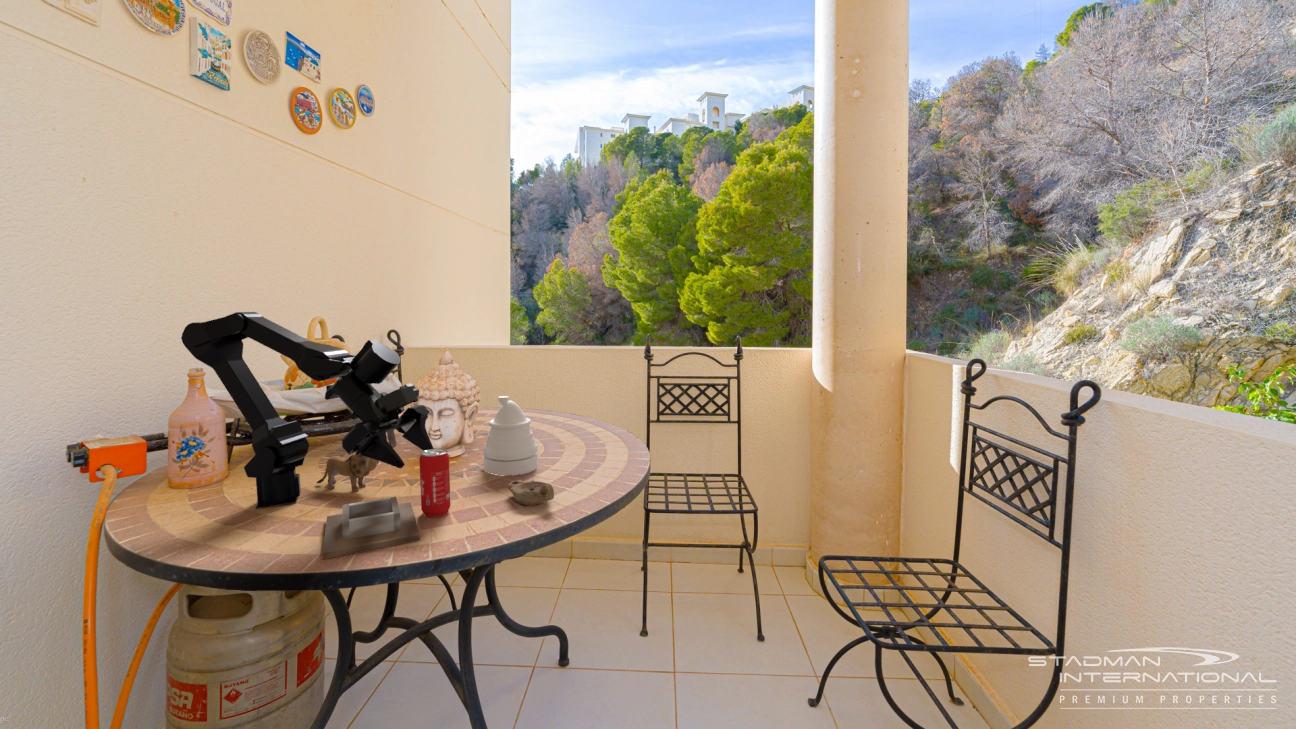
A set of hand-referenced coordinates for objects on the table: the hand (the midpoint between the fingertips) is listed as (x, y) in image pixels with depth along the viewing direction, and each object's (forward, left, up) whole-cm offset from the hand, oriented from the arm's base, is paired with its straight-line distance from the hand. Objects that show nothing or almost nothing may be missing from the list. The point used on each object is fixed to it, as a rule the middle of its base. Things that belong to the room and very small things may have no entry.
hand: (418, 459), depth 98 cm
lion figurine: (-12, +21, -11) cm, 27 cm away
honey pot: (+23, +19, -11) cm, 31 cm away
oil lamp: (+21, -5, -11) cm, 24 cm away
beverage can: (+3, -2, -11) cm, 11 cm away
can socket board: (-8, -5, -10) cm, 14 cm away
